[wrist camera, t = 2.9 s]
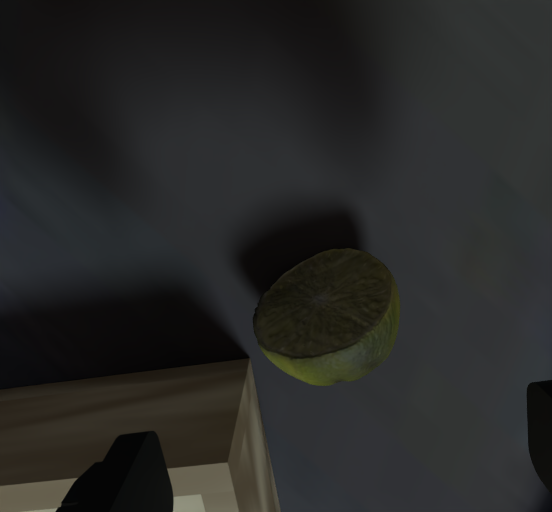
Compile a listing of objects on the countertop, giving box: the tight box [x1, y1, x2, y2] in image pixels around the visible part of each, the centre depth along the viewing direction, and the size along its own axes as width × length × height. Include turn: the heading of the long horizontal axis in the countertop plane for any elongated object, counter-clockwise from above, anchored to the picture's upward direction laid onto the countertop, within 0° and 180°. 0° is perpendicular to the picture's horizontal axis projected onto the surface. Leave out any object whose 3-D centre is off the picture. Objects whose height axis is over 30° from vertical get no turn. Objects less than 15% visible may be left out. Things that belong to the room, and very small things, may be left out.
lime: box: [253, 248, 400, 386], centre depth 15 cm, size 4×5×5 cm
